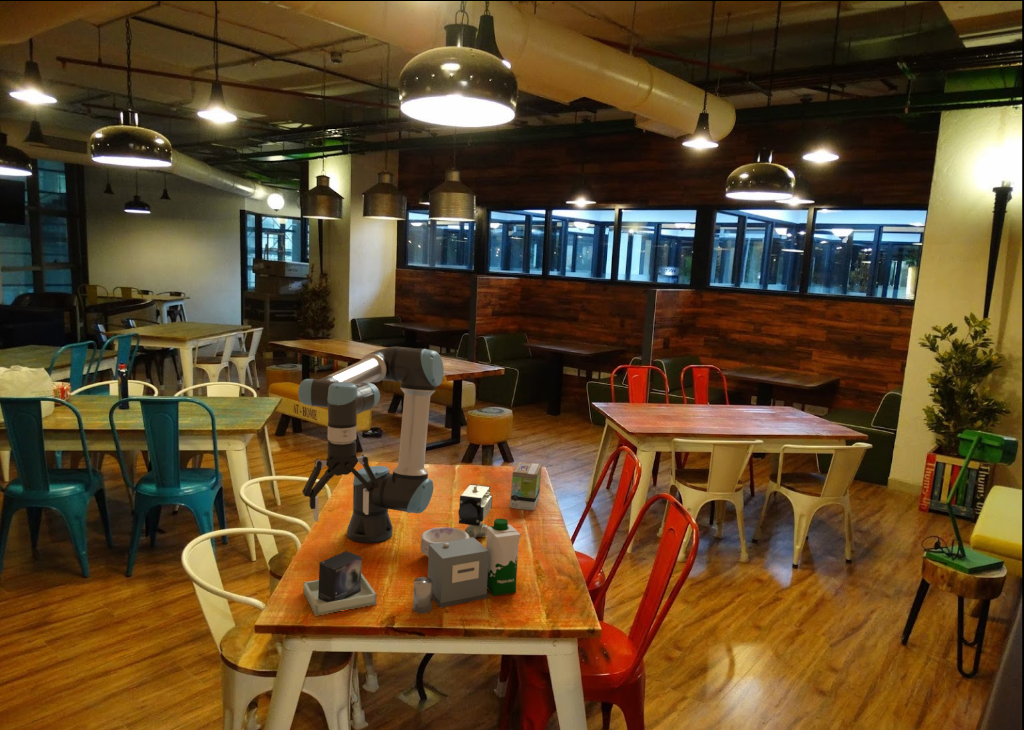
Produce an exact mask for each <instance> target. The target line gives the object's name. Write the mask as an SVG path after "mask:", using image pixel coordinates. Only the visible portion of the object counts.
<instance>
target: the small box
mask: <svg viewBox="0 0 1024 730" xmlns="http://www.w3.org/2000/svg"><path fill="white" fill-rule="evenodd" d="M362 560H363V558H362V556H360V555H359V554H355V553H353V552H351V551H348V550H345V551H343V552H341V553H338V554H336V555H334V556H331V557H330V558H326V559H325V560H322V561H320V562H318V580H319V592H318V598H319V599H321V600H324V601H326V602H332V601H338V600H343V599H346V598H348V597H350V596H352V595H354V594H356V593H358V592H360V591H361V573H362V563H363V562H362Z"/></svg>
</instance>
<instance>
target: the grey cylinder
mask: <svg viewBox="0 0 1024 730" xmlns="http://www.w3.org/2000/svg"><path fill="white" fill-rule="evenodd" d="M432 585H433V580H432V579H431V578H428V576H420V577H416V578H415V579H414V581H413V602H412V610H413V612H414V613H417V614H427V613H430V612H431V611H432V608H433V607H432V606H433V599H432Z"/></svg>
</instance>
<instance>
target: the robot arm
mask: <svg viewBox="0 0 1024 730" xmlns="http://www.w3.org/2000/svg"><path fill="white" fill-rule="evenodd" d="M444 368H445V367H444V362H443V358H442V357H441V355H440V354H439V352H437V351H436V350H432V349H427V348H416V347H415V348H413V347H402V346H390V347H383V348H381V349H377V350H375V351H372V352H370V353H367V354H366V355H363V356H362V358H361V359H360V360H359V361H357V362H356V363H352V364H351V365H349V366H347V367H344V368H341V369H340V370H337V371H335V372H333V373H331V374H328V375H327V376H325V377H321V378H320V379H315V378H306V379H303V380H302V381H301V382H300V384H299V386H298V389H297V390H298V391H297V394H298V397H297V398H298V399H299V402H300V403H301V404H302V405H307V406H310V407H317V408H318V407H319V408H327V440H328V441H327V446H326V447H327V450H326V451H327V453H326V455H327V458H326V459H325V460H323V459H322V460H320V459H319V458H316V459H315V460H314V466H313V469H312V471H311V473H310V475H309V477H308V479H307V481H306V483H305V485H304V487H303V489H302V494H303V496H304V497H307V498H309V509H310V510H312V511H313V512H312V515H313V516H312V518H313V520H314V522H319V508H320V507H319V506H320V505H319V502H320V501H319V499H320V498H319V497H318V494H319V493H320V492H321V491H322V490H323V489H324V487H325V486H326V485H327V484H328V482H329V481H330V480H331V479H333V477H334V476H337V477H338V476H342V475H343V476H344V475H346V476H347V475H350V473H352V474H353V482H352V486H353V488H352V489H353V490H352V492H353V494H352V515H351V517H350V520H349V523H348V525H347V531H346V532H347V533H346V534H347V535H346V536H347V538H348V539H349V540H351V541H353V542H356V543H362V544H363V543H364V544H372V543H374V544H375V543H381V542H385V541H387V540H389V539H390V538H392V536H393V534H394V533H393V531H394V530H393V529H394V527H393V524H392V521H391V518H390V515H389V510H393V511H398V512H399V511H400V512H405V513H408V514H411V513H413V514H421V513H423V512H424V511H425V510H426V509H427V508H428V506H429V504H430V502H431V500H432V496H433V492H434V481H433V480H432V479H431V478H429V471H428V470H427V469H426V468H425V462H426V461H425V460H426V459H425V458H426V451H427V450H426V448H427V437H428V427H429V416H430V415H429V413H430V404H431V397H432V395H433V394H434V393H435V392H436V388H437V387H438V386H440V385H441V384H442V383H443V380H444V375H445V374H444V371H445V370H444ZM381 381H389V382H396V383H400V387H399V388H400V390H401V391H402V393H403V394H404V395H403V406H402V417H401V427H400V428H401V430H400V439H399V451H398V452H399V453H398V462H397V463H398V464H397V466H396V467H395V468H393V469H392V473H390V472H391V471H390V467H388V466H385V465H375V466H374V465H372V466H370V465H369V457H367V455H365V454H362V455H361V456H357V441H356V440H357V430H358V429H357V419H358V417H357V416H358V415H359V414H360V413H364V412H366V411H370V410H372V409H373V408H374V407H376V405H378V404H379V401H380V400H381V399H380V398H381V392H380V390H379V388H378V387H377V386H376V385H375V384H374V383H378V382H379V383H380V382H381ZM358 463H359V464H360V465H362V467H363V468H360V469H358V470H357V469H356V467H355V466H357V465H358ZM325 466H326V467H327V469H326V470H325V472H324V474H323V475H322V476H321V477H320V478H319V475H320V473H321V471H322V469H324V468H325ZM318 478H319V480H318ZM317 480H318V481H317ZM316 481H317V482H316ZM315 483H316V484H315Z"/></svg>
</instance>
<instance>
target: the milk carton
mask: <svg viewBox="0 0 1024 730" xmlns="http://www.w3.org/2000/svg"><path fill="white" fill-rule="evenodd" d="M508 523H509V522H508V520H507V519H505V518H496V519H494V520H493V525H490V526H488V527H487V536H486V547H485V548H486V549H487V550H489V557H488V577H487V590H488V591H490V594H491V595H493V597H495V596H502V595H508V594H515V593H517V577H518V576H517V574H518V559H519V558H518V557H519V544H520V539H521V533H520V532H519V531H518V530H517V529H516V528H515V527H513V525H511V524H508Z"/></svg>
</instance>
